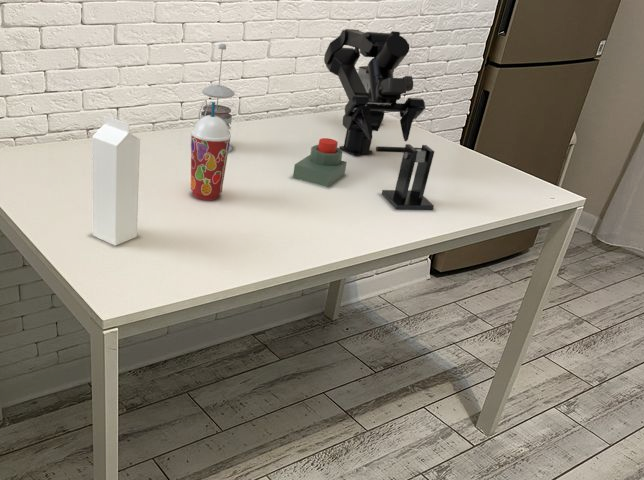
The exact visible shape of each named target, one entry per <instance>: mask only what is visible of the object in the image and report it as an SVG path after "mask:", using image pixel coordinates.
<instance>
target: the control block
mask: <svg viewBox="0 0 644 480" xmlns="http://www.w3.org/2000/svg"><path fill="white" fill-rule="evenodd" d="M318 145H319V144H316V145H313V146H311V148H310V154H309V155H307V156H306V157H303V158H302V159H301V160H299V161H297V162H296V163H295V164H294V168H293V173H292V178H293V179H295V180H298V181H303V182H307V183H310V184H314V185H318V186H321V187H325V188H329V187H330V186H331V185H333V184H334V183H335V182H337V181H338V180H340V179H341V178H342V177H344V176H345V174H346V168H347V161H345V160H342V158H343V150H342V149H340V148H338V147H337V149H336V153H332V154H330V153H323V152H320V151H318Z"/></svg>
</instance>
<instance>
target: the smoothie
mask: <svg viewBox="0 0 644 480" xmlns="http://www.w3.org/2000/svg"><path fill="white" fill-rule="evenodd" d="M211 102H212V110H211V115H208V116H204V117H202V118H201V117H200V120H199V119H198V120H197V121H196V123H195V124H194V126H193V128H192V129H191V130H190V135H191V136H190V137H191V138H190V191H192V195H193V197H195V198H196V199H199V200H202V201H214V200H217V199H218V198H220V194H221V193H222V192H223V186H224V180H225V173H226V167H227V162H228V156H229V155H228V154H229V152H228V150H229V144H230V142H231V138H232V134H231V131H230V129H228V126H227V125H226V123H225V122H224V121H223V120H222V119H221V118H219V117H217V116H215V115H214V112H215V105H216V101H211ZM229 131H230V132H229Z"/></svg>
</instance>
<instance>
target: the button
mask: <svg viewBox="0 0 644 480" xmlns="http://www.w3.org/2000/svg"><path fill="white" fill-rule="evenodd" d="M338 144H339V142H338V141H337V140H336V139H333V138H328V137H327V138H326V137H323V138H320V139H319V140H318V144H317V145H318V151H320V152H323V153H330V154H332V153H336V149H337V148H338Z"/></svg>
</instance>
